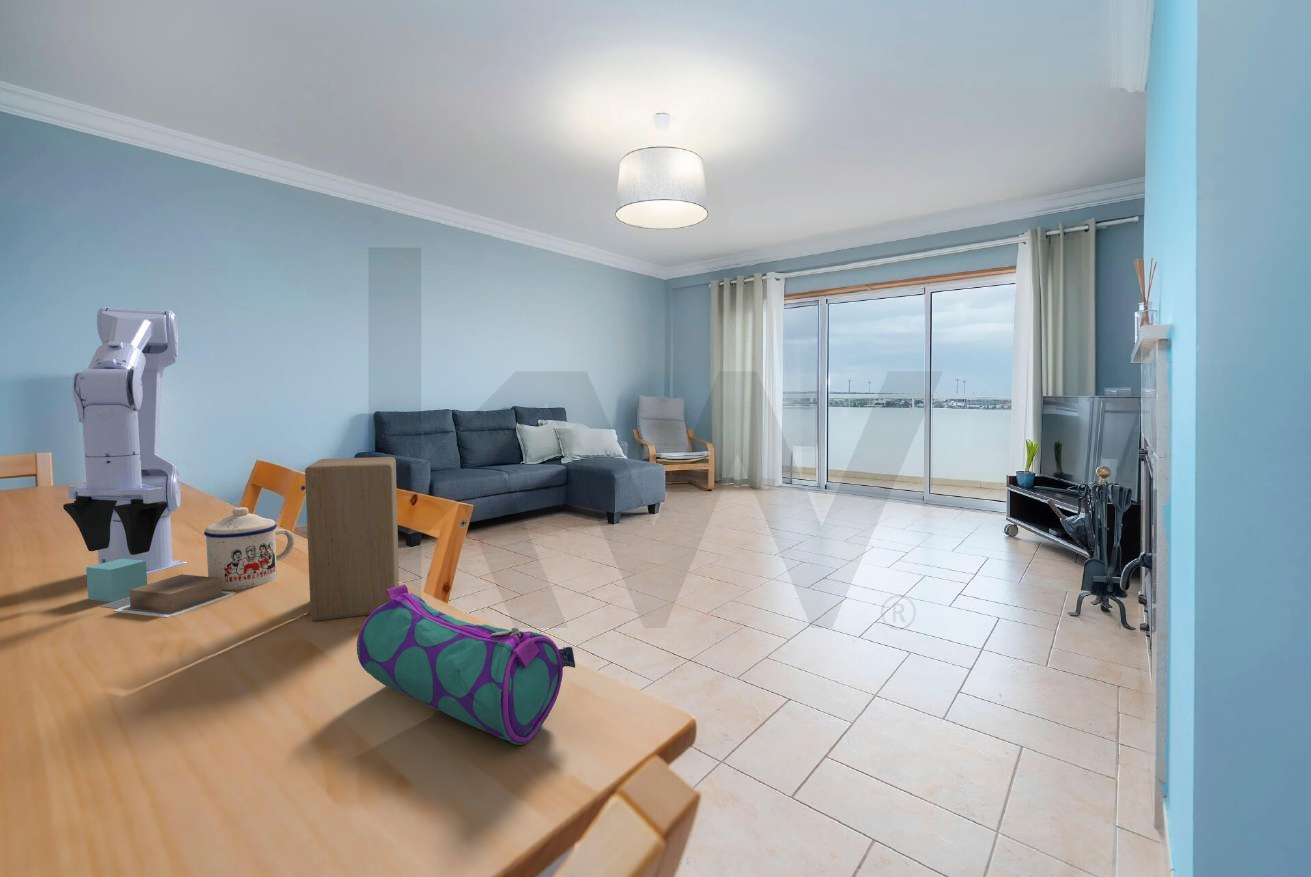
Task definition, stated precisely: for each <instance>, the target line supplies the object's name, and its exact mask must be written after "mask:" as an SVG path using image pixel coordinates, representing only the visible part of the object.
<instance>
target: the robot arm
mask: <svg viewBox="0 0 1311 877" xmlns="http://www.w3.org/2000/svg"><path fill="white" fill-rule="evenodd" d="M96 326H97V327H96V328H97V335H98V337H99V339H100V342H101V345H99V346H98V347H97V348H96V350H95V352H94V354H93V356H92V358H91V360H90V362H89V365H88V368H85V367H84V368H82V371H81V372H78V371H76V372H74V375H73V377H72V394H73V399H74V403H75V407H76V411H77V419H78V423H80V424H82V435H83V436H82V438H83V439H82V440H83V451H84V452H83V453H84V467H85V468H84V469H85V482H86V483H78V484H69V485H68V486H67V488H68V499H70V500H73V502H67V503H64V504H62V507H63V511H65V512H66V513H67V514H68V515H69V516H70V517H71V519H72V520H73V521H74V524H76V526H77V528H78V530H79V532H80V534H81V537H82V538H83V541H84V543H85V545H86V548H87V551H88V552H95V551H97V558H98V564H102V563H106V562H110V561H114V560H118V559H132V560H143V561H146V571H147V575H151V574H153V573H158V572H160V571H164V570H167V569H171V568H176V567H179V566H181V565H182V566H183V565H185V564H188V562H187V561H186V560H185V561H184V560H175V559H173V557H174V556H173V543H172V542H173V541H172V527H171V526H172V524H171V515H172V513H173V512H176V511H177V510H178V509H179V508H180V506H181V499H182V498H181V495H182V494H181V492H182V490H181V482H180V473H179V469H178V468H177V467H176V465H175V464H174V463H172V462H171V461H169V460H167V459H165V458H163V457H161V456H160V424H161V423H160V422H161V420H160V417H161V392H162V391H161V387H162V386H161V385H162V380H163V375H164V371H165V369H166V368H168V367H170V366H171V365H174V364H176V363H177V357H178V356H179V324H178V318H177V315H176V313H174V312H173V310H171V309H168V310H155V309H154V310H153V309H137V308H123V307H122V308H120V307H110V306H107V305H105V306H101V307H100V308H99V309H98V311H97V315H96Z"/></svg>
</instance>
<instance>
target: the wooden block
mask: <svg viewBox="0 0 1311 877" xmlns="http://www.w3.org/2000/svg"><path fill="white" fill-rule="evenodd" d="M304 480H305V481H304V482H305V500H306V501H305V504H306V506H305V507H306V528H307V532H306V533H307V553H308V554H307V555H308V558H307V559H308V580H309V603H310V604H309V606H310V607H309V608H310V610H309V611H310V619H311V620H312V621H322V620H323V621H325V620H333V619H335V620H336V619H343V618H350V617H361V616H369V615H370V614H371V613H372V612H373V611H374V610H375V609H377V608H378V607H379V606H381V605H383V604H385V603H387V602H389V601H391V598H390V597H389V596H388V595H387V593H386V590H388V589H391V588H394V587H397V586H400V574H399V573H400V571H399V570H400V569H399V534H398V532H399V531H398V530H399V529H398V527H399V526H398V497H397V490H398V489H397V460H396V458H395V457H393V456H378V457H377V456H375V457H346V458H345V457H343V458H339V457H338V458H321V459H318V460H317V461H315V462H313V463H312V464H310V465H308V466H307V467H306V468H305V470H304ZM398 582H399V583H398Z"/></svg>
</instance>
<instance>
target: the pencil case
mask: <svg viewBox="0 0 1311 877" xmlns="http://www.w3.org/2000/svg"><path fill="white" fill-rule="evenodd" d="M407 586H408V585H407V584H401V585H399V586H397V587H394V588H391V589H388V590H386V593H387V595H388V596H389V597H390V598H391V601H389V602H387V603H385V604H383V605H381V606H379V607H378V608H377V609H375V610H374V611H373V612H372V613H371V614H370V615H367V616H368V617H366V619H365V621H363V622H364V623H363V624H362V626H361V627H360V630H359V633H358V636H357V640H356V653H357V657H358V659H357V660H358V662H359V664H360V665H361V667H362V668H363V670H364V671H365V672H366V673H367V674H369V675H370V676H371V677H372V678H374V679H375V680H376V681H378V682H379V683H380V684H382V685H384V686H386V687H388V688H391V689H392V690H394V691H397V692H399V693H401V694H404V695H406V696H408V697H410V698H413V699H415V700H417V701H419V702H422V703H424V704H426V705H427V706H430V707H432V708H434V709H435V710H438V711H440V712H442V713H443V714H446V715H447V716H449V717H450V718H451V717H452V718H453V719H455V720H458V721H460V722H463V723H465V724H467V725H469V726H471V727H474V728H476V729H479V730H480V731H483V732H484V733H487V734H490V735H492V736H495V737H496V738H498V739H502V740H504V741H508V742H509V743H511V744H513V745H517V746H521V745H525V744H526V745H527V744H528V743H531V741H532V740H533V739H534V738H535V736H536V735H537V733H538V732H539V731H540V729H541V728H542V726H543V725H544V723H545V721H546V719H547V718H548V717H549V715H550V713H551V711H552V709H553V707H554V706H555V703H556V701H557V698H558V696H559V694H560V690H561V686H562V681H563V674H564V671H563V670H564V668H565V667H567V668H568V667H569V668H573V669H575V668H576V661H575V657H574V656H575V654H574V649H573V646H567V647H565V646H564V647H562V648H559V646H557V644H556V642H555V641H554V640H553V639H552V638H550V637H549V636H547V635H546V634H542V633H538V632H534V631H531V630H530V631H522V630H520V629H519V628H518V627H512V628H511V630H510V629H507V628H503V627H495V626H491V625H489V624H487V623H486V624H485V623H484V624H474V623H471V622H468V621H464V620H461V619H458V618H455V617H454V616H451V615H448V614H446V613H445V612H442V611H439V610H438V609H435V608H434V607H432V606H431V605H428V604H427V603H426V601H425V600H424V599H423V598H421V597H420V596H418V595H416V594H414V593H409V590H408V587H407Z"/></svg>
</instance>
